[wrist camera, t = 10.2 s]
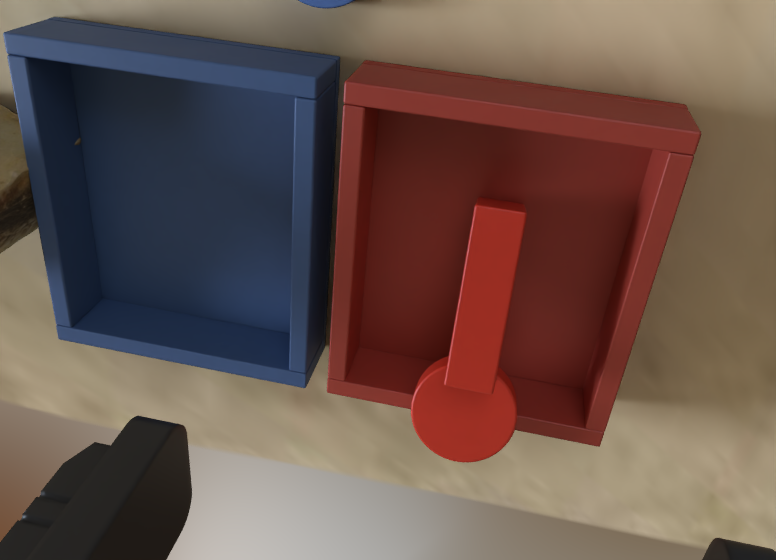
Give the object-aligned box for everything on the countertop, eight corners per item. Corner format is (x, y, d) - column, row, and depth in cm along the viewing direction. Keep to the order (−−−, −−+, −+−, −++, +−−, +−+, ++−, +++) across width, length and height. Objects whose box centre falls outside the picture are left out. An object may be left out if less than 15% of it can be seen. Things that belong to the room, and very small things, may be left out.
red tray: (364, 59, 20) (344, 81, 18) (686, 104, 19) (702, 132, 17) (344, 350, 25) (326, 393, 23) (595, 398, 24) (599, 447, 22)
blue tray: (54, 16, 21) (1, 31, 19) (340, 56, 20) (317, 77, 18) (96, 303, 26) (57, 339, 24) (325, 346, 25) (305, 389, 23)
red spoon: (447, 191, 21) (441, 198, 19) (556, 209, 21) (562, 217, 19) (407, 438, 23) (397, 469, 21) (506, 458, 23) (507, 492, 20)
